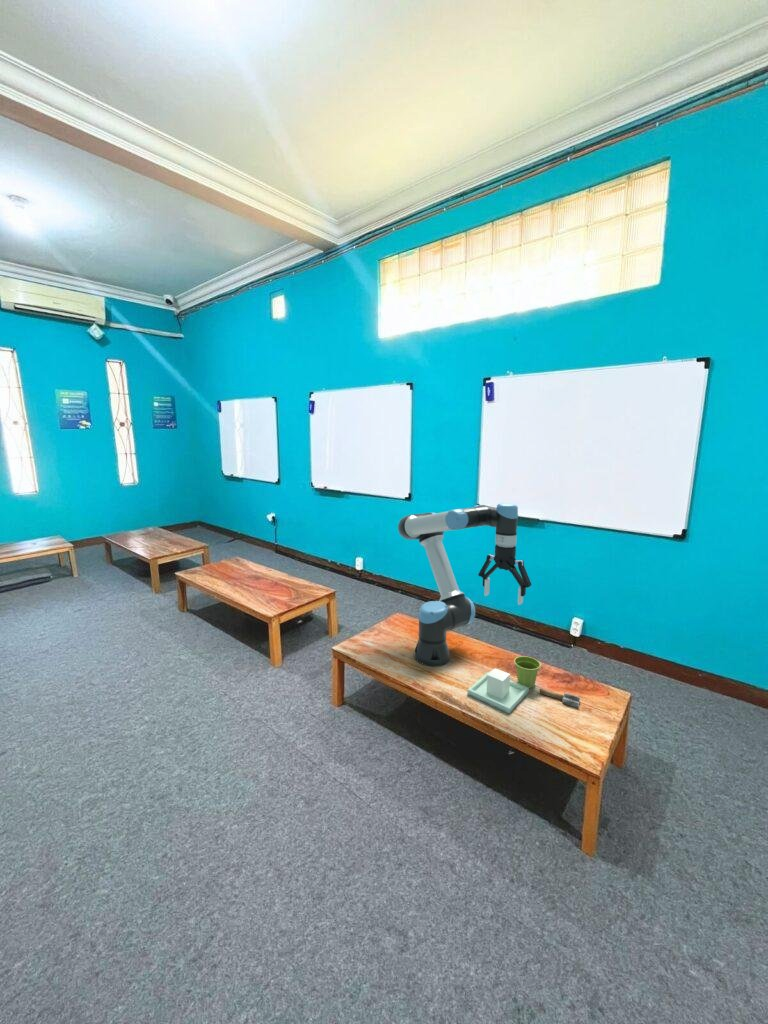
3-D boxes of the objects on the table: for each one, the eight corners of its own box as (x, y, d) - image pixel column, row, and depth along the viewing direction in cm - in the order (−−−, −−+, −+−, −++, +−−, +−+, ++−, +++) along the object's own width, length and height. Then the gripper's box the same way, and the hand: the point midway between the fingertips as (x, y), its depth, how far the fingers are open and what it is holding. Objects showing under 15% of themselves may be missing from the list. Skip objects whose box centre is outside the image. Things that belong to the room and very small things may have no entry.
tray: (467, 694, 145) (467, 689, 145) (488, 676, 157) (488, 671, 157) (509, 714, 135) (509, 708, 134) (528, 692, 146) (528, 687, 146)
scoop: (538, 695, 145) (538, 691, 144) (540, 690, 148) (541, 685, 148) (578, 708, 138) (578, 703, 137) (579, 701, 141) (579, 697, 141)
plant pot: (525, 693, 146) (526, 671, 145) (507, 679, 154) (508, 659, 153) (544, 687, 150) (546, 666, 148) (526, 674, 158) (527, 654, 157)
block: (486, 692, 146) (487, 674, 144) (494, 685, 150) (495, 668, 149) (501, 699, 142) (502, 681, 140) (509, 691, 146) (510, 674, 145)
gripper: (470, 541, 154) (469, 593, 158) (534, 552, 138) (531, 611, 141) (480, 538, 160) (478, 588, 163) (543, 548, 143) (539, 604, 147)
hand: (502, 599), depth 152 cm, fingers open, 13 cm apart
